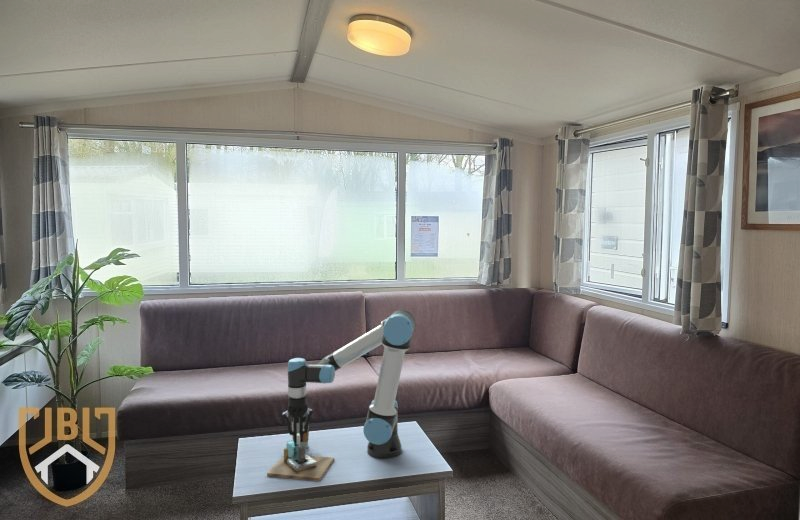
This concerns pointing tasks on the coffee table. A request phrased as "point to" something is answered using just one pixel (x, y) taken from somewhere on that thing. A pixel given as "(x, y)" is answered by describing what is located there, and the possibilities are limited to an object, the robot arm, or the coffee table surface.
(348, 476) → the coffee table surface
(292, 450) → the flange
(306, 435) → the coffee cup
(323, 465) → the post base
